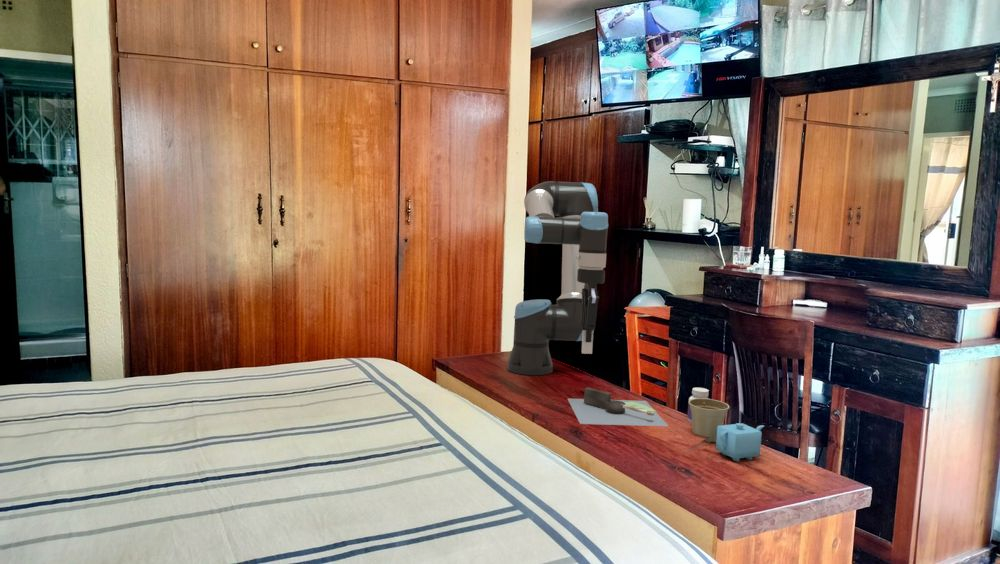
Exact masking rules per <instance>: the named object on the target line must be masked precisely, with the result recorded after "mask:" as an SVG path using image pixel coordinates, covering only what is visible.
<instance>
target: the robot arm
mask: <svg viewBox="0 0 1000 564" xmlns="http://www.w3.org/2000/svg"><path fill="white" fill-rule="evenodd" d="M598 199H599V198H598V194H597V189H596V187H595V185H593V183H589V182H582V181H580V182H578V181H577V182H575V181H573V182H572V181H554V180H549V181H543V182H541V183H538V184H536V185H534V186H532V188H530V189H529V190H528V191H527V192H526V194H525V196H524V201H523V202H524V204H523V205H524V208H525V210H526V212H527V214H528V216H526V218H524V219H525V221H524V229H523V230H524V232H523V233H524V234H523V235H524V241H525V242H526V243H531V244H546V245H547V244H550V245H551V244H553V245H562V251H561V252H562V254H561V255H562V257H561V260H562V261H561V294H560V296H559V297H558V298H556V304H552V302H551V300H550V299H542V298H541V299H539V298H538V299H529V300H523V301H520V302H518V303H516V306H515V309H514V316H513V318H514V329H513V345H512V348H511V351H510V354H509V357H508V359H507V362H506V363H507V364H506V369H507V371H509V372H510V373H512V374H513V373H514V374H518V375H525V376H526V375H527V376H543V375H544V376H545V375H548V374H551V373H553V367H554V364H553V361H552V357H551V353H550V348H549V342H550V341H568V342H569V341H574V342H581V354H584V355H586V354H587V355H588V354H589V355H590V354H591V355H592V354H593V346H594V345H593V343H594V331H595V330H596V323H597V317H598V316H597V314H598V304H599V300H600V296H599V292H600V291H599V290H598V289H597V288H598V286H597V285H598V284H599V285H601V284H602V285H603V284H604V283H605V281H606V280H605V279H606V271H605V268H606V265H607V243H608V242H607V241H608V230H609V215H608V213H606V212H603V211H602V212H601V211H599V208H598V207H599V200H598ZM555 216H556V217H555Z"/></svg>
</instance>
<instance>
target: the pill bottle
mask: <svg viewBox="0 0 1000 564" xmlns="http://www.w3.org/2000/svg"><path fill="white" fill-rule="evenodd" d="M709 391H710V390H709V389H707V388H704V387H693V388H692V390H691V394H692V395H691V396H689V397H688V401H689V400H691V399H697V398H705V399H710V398H709ZM687 404H688V405H687V418H686V421H687V422H688V423H690V424H692V414H691V409H690V405H689V402H688V403H687Z"/></svg>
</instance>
